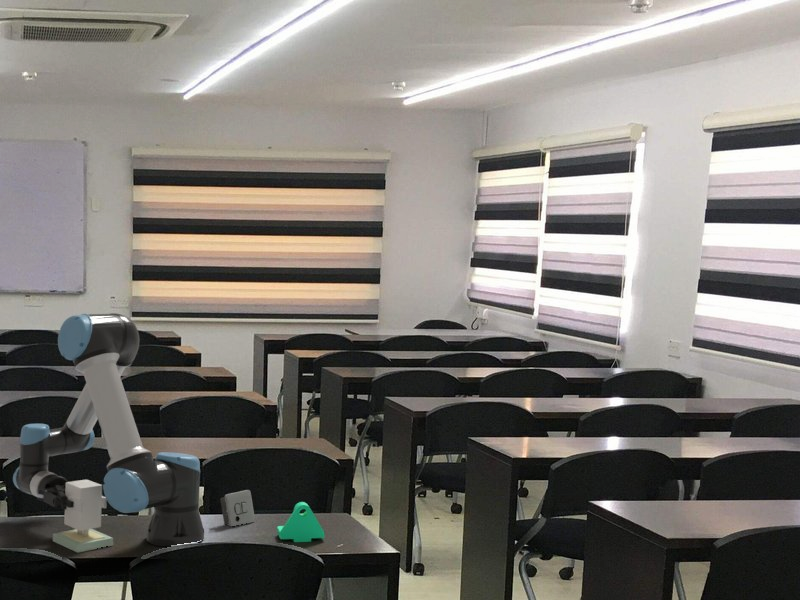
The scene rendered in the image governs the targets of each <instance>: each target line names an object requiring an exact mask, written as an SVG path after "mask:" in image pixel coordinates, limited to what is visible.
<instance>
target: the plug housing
mask: <svg viewBox="0 0 800 600" xmlns="http://www.w3.org/2000/svg"><path fill="white" fill-rule="evenodd" d="M65 495H66V496H67V499H68V497H70V496H71V497H73V498H75V499H78V500H80V501H83V512H78V511H75V510H73V509H71V508H68V507H67V509H66V510H64V518H63V519H64V521H63V522H64V525H65V526H68V527H70V528H72V529H73V530H75V529H77V530H79V531H82V530H87V529H93V530H94V529H98V528H101V527H102V508H101V505H102V496H103V484H100V483H98V482H94V481H92V480H89V479H88V478H87V479H82V480H81V479H80V480H72V481H68V482H66V487H65Z"/></svg>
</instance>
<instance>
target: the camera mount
mask: <svg viewBox="0 0 800 600" xmlns="http://www.w3.org/2000/svg"><path fill="white" fill-rule="evenodd" d="M302 510H305V511H304V512H302V513H300V512H301V511H302ZM276 531H277V535H278V538H279V539H280V540H292V541H293V542H294V543H305V542H308V543H309V542H312V539H325V531H324V529H323V528H322V526H321V524H320V522H319V520H318V519H317V517H316V515H315V514H314V512H313V510H312V508H310V506H309V505H308V503H306V502H305V501H299V502H298V503H296V504H295V505H294V508H293V512H292V513H291V514H290V515H289V518H288V519H287V520H286V522H285V524H284V525H277V528H276Z"/></svg>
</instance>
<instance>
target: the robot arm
mask: <svg viewBox="0 0 800 600" xmlns="http://www.w3.org/2000/svg"><path fill="white" fill-rule="evenodd" d="M57 346H58V350H59V352H60V355H61V356H62V357H64V359H65V360H68V361H72V362H73V364H74V369H75V371H77V372H79V373H81V374H83V377H84V380H85V384H84V386H83V389H82V391H81V393H80V394H79V396H78V399H77V401H76V402H75V404H74V406H73V408H72V410H71V412H70V414H69V416H68V418H67V420H66V421H65V423H64V425H63V426H62V427H59V428H51V429H50V426H49V424H45V423H28V424H25V425H23V426H22V427H21V431H20V439H19V444H20V451H19V452H20V454H19V455H20V461H19V466H18V467H17V468H16V469H15V470H14V473H13V476H12V482H13V484H14V487H15V488H17V489H18V490H19V491H21V492H22V493H24V494H28V495H32V496H33V497H36V498H37V501H39V502H44V503H46V504H48V505H49V506H51V507H53V508H59V507H60V506H61V510H64V511H65V510H66V509H67V507H68V508H71V509H73V510H75V511H78V512H83V501H80V500H78V499H75V498H73V497H71V496H70V497H68V499H67V496H66V495H65V487H66V482H69V481H68V480H67V479H66V477H63V476H61V475H58V474H56V473H55V472H52V471H49V460H50V459H49V458H50V457H54V456H59V455H65V454H72V453H79V452H83V451H86V450H89V449H90V448H92V447H93V445H94V443H95V440H94V439H95V433H94V429H93V428H94V427H95V425H96V423H97V421H98V424H99V426H100V430H101V433H102V437H103V440H104V442H105V446H106V449H107V451H108V456H109V458H110V460H109V461H108V463H107V464H106V469H107V473H106V474H105V476H104V478H103V484H102V491H103V493H104V495H102V505H101V509H107V503H108V504H109V505H110V506H111V507H112V508H113V509H114V510H116V511H118V512H120V513H124V514H129V513H139V512H141V511H143V510H147V509H151V508H152V509H154V510H153V513H152V515H151V519H150V523H149V525H148V527H147V530H146V541H147V542H148V543H149V544H152V545H154V546H158V547H159V546H160V547H165V546H171V545H177V544H184V543H191V542H197V541H200V540H203V539H204V540H205V528H204V526H203V522H202V517H201V515H200V514H201V513H200V511H199V510H200V509H199V508H200V506H199V505H200V504H199V502H200V487H201V486H200V484H201V483H200V482H201V481H200V480H201V468H200V467H201V465H200V464H201V463H200V459H199V458H198V457H197V456H196V455H192V454H187V453H181V452H172V451H171V452H167V451H166V452H163V451H162V452H158V453H156V455H155V458H154V457H153V452H152V451H151V450H148V449H146V448H145V447H144V446H143V442H142V440H141V437H140V434H139V431H138V430H139V429H138V427H137V424H136V422H135V418H134V414H133V412H132V409H131V406H130V403H129V400H128V397H127V395H126V391H125V388H124V384H123V382H122V377H121V376H122V375H123V373H124V371H125V369H126V368H127V367H130V366H131V365H133V362H134V360H135V358H136V356H137V354H138V351H139V349H140V334H139V329H138V328H137V326H136V324H135V323H134V322H133V320H132V319H130V317H128V316H126V315H125V314H121V313H116V312H114V313H113V312H112V313H99V314H98V313H94V314H93V313H90V314H87V313H81V314H76V315H72V316H69V317H68V318H66V319H65V320H64V322H63V323H62V324H61V326H60V329H59V332H58V335H57ZM204 540H203V541H204Z"/></svg>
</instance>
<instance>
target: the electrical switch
mask: <svg viewBox="0 0 800 600" xmlns="http://www.w3.org/2000/svg"><path fill="white" fill-rule="evenodd" d="M220 505H221V513H222V517H223V524H227V525H226V526H229V527H230V526H235V527H237V526H236V525H239V526H242V525H241V524H243V525H246V523H247V524H252V523H254V522H255V521H256V518H255V512H254V505H253V499H252V493H251V490H250V489H245V490H240V491H236V492H231V493H227V494H225V495H224V497H220Z"/></svg>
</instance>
